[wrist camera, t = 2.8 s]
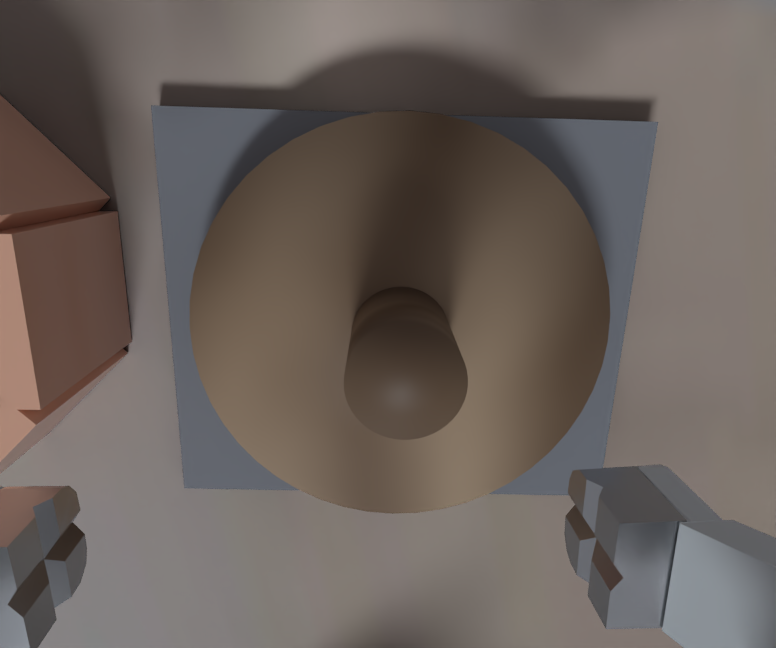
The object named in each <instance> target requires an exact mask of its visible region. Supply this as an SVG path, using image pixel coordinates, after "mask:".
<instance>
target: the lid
mask: <svg viewBox="0 0 776 648" xmlns="http://www.w3.org/2000/svg"><path fill="white" fill-rule="evenodd" d="M609 324H610V296H609V285H608V279H607V274H606V268H605V263H604V259H603V256H602V253H601V251H600V248H599V245H598V242H597V239H596V236H595V234H594V232H593V230H592V228H591V226H590V224H589V222H588V220H587V218H586V216H585V214H584V212H583V210H582V209H581V207H580V206H579V204H578V203H577V202H576V200H575V199H574V197H573V196H572V194H571V193H570V192H569V190H568V189H567V187H566V186H565V185H564V184H563V183H562V182H561V181H560V180H559V179H558V178H557V177H556V176H555V175H554V173H553V172H552V171H551V170H550V169H549V168H548V167H547V166H546V165H544V164H543V163H542V162H541V161H539V160H538V159H537V158H536V157H534V156H533V155H532V154H531V153H529V152H528V151H527V150H526V149H524V148H523V147H521V146H519V145H518V144H516V143H514V142H513V141H511V140H509V139H508V138H506V137H504V136H503V135H501V134H499V133H497V132H495V131H492V130H490V129H487V128H485V127H482V126H480V125H478V124H475V123H473V122H470V121H466V120H462V119H458V118H454V117H451V116H447V115H443V114H436V113H427V112H418V111H386V112H375V113H369V114H363V115H358V116H352V117H348V118H344V119H341V120H338V121H335V122H332V123H329V124H326V125H323V126H320V127H318V128H316V129H314V130H311V131H309V132H307V133H305V134H303V135H301V136H299V137H297V138H295V139H293V140H291V141H290V142H288V143H287V144H285V145H284V146H282V147H281V148H279V149H278V150H276V151H275V152H273V153H272V154H270V155H269V156H268V157H266V158H265V159H264V160H263V161H262V162H261V163H260V164H259V165H258V166H256V167H255V168H254V169H253V170H252V171H251V172H250V173H249V174H247V175H246V176H245V178H244V179H243V180H242V181H241V182H240V184H239V185H238V186H237V187H236V188H235V189H234V191H233V192H232V193H231V194H230V195H229V197H228V198H227V199H226V201H225V203H224V204H223V206H222V207H221V209H220V210H219V212H218V214H217V215H216V217H215V218H214V220H213V222H212V224H211V226H210V228H209V230H208V233H207V235H206V237H205V239H204V242H203V244H202V246H201V249H200V252H199V256H198V259H197V263H196V266H195V270H194V273H193V280H192V287H191V294H190V334H191V341H192V348H193V355H194V358H195V362H196V365H197V369H198V372H199V376H200V379H201V381H202V384H203V386H204V388H205V391H206V393H207V395H208V398H209V400H210V402H211V404H212V406H213V407H214V409H215V411H216V412H217V414H218V416H219V417H220V419H221V421H222V422H223V424H224V425H225V427H226V428H227V429H228V430H229V432H230V433H231V434H232V435H233V437H234V438H235V439H236V441H237V442H238V443H239V444H240V445H241V446H242V447H243V448H244V449H245V450H246V451H247V452H248V453H249V454H250V455H251V456H252V457H253V458H254V459H255V460H256V461H257V462H258V463H260V464H261V465H262V466H263V467H265V468H266V469H267V470H269V471H270V472H271V473H273V474H274V475H275V476H276V477H278V478H280V479H281V480H283V481H285V482H286V483H288V484H290V485H291V486H293V487H295V488H296V489H298V490H301V491H303V492H305V493H307V494H310V495H312V496H314V497H316V498H318V499H321V500H324V501H327V502H330V503H334V504H337V505H340V506H343V507H348V508H353V509H358V510H363V511H369V512H381V513H418V512H425V511H432V510H438V509H444V508H447V507H451V506H455V505H459V504H463V503H466V502H469V501H471V500H474V499H476V498H479V497H482V496H484V495H487V494H489V493H491V492H493V491H495V490H497V489H499V488H501V487H502V486H504V485H506V484H508V483H510V482H512V481H513V480H515V479H516V478H518V477H519V476H520V475H522V474H523V473H525V472H526V471H528V470H529V469H531V468H532V467H533V466H534V465H535V464H537V463H538V462H539V461H540V460H541V459H542V458H543V457H545V456H546V455H547V454H548V453H549V452H550V451H551V450H552V449H553V448H554V447H555V446H556V445H557V443H558V442H559V441H560V440H561V439H562V438H563V437H564V436H565V435H566V433H567V432H568V431H569V429H570V428H571V426H572V425H573V424H574V422H575V421H576V419H577V418H578V416H579V415H580V414H581V412H582V410H583V408H584V406H585V404H586V403H587V401H588V399H589V397H590V395H591V393H592V391H593V389H594V386H595V384H596V381H597V378H598V376H599V373H600V370H601V368H602V364H603V360H604V356H605V351H606V347H607V343H608V335H609Z"/></svg>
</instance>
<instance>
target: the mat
mask: <svg viewBox="0 0 776 648" xmlns="http://www.w3.org/2000/svg"><path fill="white" fill-rule="evenodd" d="M151 110H152V122H153V133H154V145H155V156H156V167H157V179H158V190H159V202H160V213H161V225H162V236H163V248H164V259H165V271H166V282H167V293H168V305H169V316H170V328H171V339H172V351H173V362H174V374H175V385H176V397H177V408H178V419H179V431H180V442H181V454H182V465H183V477H184V488H205V489H258V490H298V489H296V488H295V487H293V486H291V485H290V484H288V483H286V482H285V481H283V480H281V479H280V478H278V477H276V476H275V475H274V474H273V473H271V472H270V471H269V470H267V469H266V468H265V467H263V466H262V465H261V464H260V463H258V462H257V461H256V460H255V459H254V458H253V457H252V456H251V455H250V454H249V453H248V452H247V451H246V450H245V449H244V448H243V447H242V446H241V445H240V444H239V443H238V442H237V441H236V439H235V438H234V437H233V435H232V434H231V433H230V432H229V430H228V429H227V428H226V427H225V425H224V424H223V422H222V421H221V419H220V417H219V416H218V414H217V412H216V411H215V409H214V407H213V406H212V404H211V402H210V400H209V398H208V395H207V393H206V391H205V388H204V386H203V384H202V381H201V379H200V376H199V372H198V369H197V365H196V362H195V358H194V355H193V348H192V341H191V334H190V294H191V287H192V280H193V273H194V270H195V266H196V263H197V259H198V256H199V252H200V249H201V246H202V244H203V242H204V239H205V237H206V235H207V233H208V230H209V228H210V226H211V224H212V222H213V220H214V218H215V217H216V215H217V214H218V212H219V210H220V209H221V207H222V206H223V204H224V203H225V201H226V199H227V198H228V197H229V195H230V194H231V193H232V192H233V191H234V189H235V188H236V187H237V186H238V185H239V184H240V182H241V181H242V180H243V179H244V178H245V176H246V175H247V174H249V173H250V172H251V171H252V170H253V169H254V168H255V167H256V166H258V165H259V164H260V163H261V162H262V161H263V160H264V159H265V158H266V157H268V156H269V155H270V154H272V153H273V152H275V151H276V150H278V149H279V148H281V147H282V146H284V145H285V144H287V143H288V142H290V141H291V140H293V139H295V138H297V137H299V136H301V135H303V134H305V133H307V132H309V131H311V130H314V129H316V128H318V127H320V126H323V125H326V124H329V123H332V122H335V121H338V120H341V119H344V118H348V117H352V116H358V115H363V114H369V113H367V112H336V111H305V110H274V109H243V108H212V107H182V106H151ZM447 116H451V117H454V118H458V119H462V120H466V121H470V122H473V123H475V124H478V125H480V126H482V127H485V128H487V129H490V130H492V131H495V132H497V133H499V134H501V135H503V136H504V137H506V138H508V139H509V140H511V141H513V142H514V143H516V144H518V145H519V146H521V147H523V148H524V149H526V150H527V151H528V152H529V153H531V154H532V155H533V156H534V157H536V158H537V159H538V160H539V161H541V162H542V163H543V164H544V165H546V166H547V167H548V168H549V169H550V170H551V171H552V172H553V173H554V175H555V176H556V177H557V178H558V179H559V180H560V181H561V182H562V183H563V184H564V185H565V186H566V187H567V189H568V190H569V192H570V193H571V194H572V196H573V197H574V199H575V200H576V202H577V203H578V204H579V206H580V207H581V209H582V210H583V212H584V214H585V216H586V218H587V220H588V222H589V224H590V226H591V228H592V230H593V232H594V234H595V236H596V239H597V242H598V245H599V248H600V251H601V253H602V256H603V259H604V263H605V268H606V274H607V279H608V285H609V296H610V324H609V335H608V343H607V347H606V351H605V356H604V360H603V364H602V368H601V370H600V373H599V376H598V378H597V381H596V384H595V386H594V389H593V391H592V393H591V395H590V397H589V399H588V401H587V403H586V404H585V406H584V408H583V410H582V412H581V414H580V415H579V416H578V418H577V419H576V421H575V422H574V424H573V425H572V426H571V428H570V429H569V431H568V432H567V433H566V435H565V436H564V437H563V438H562V439H561V440H560V441H559V442H558V443H557V445H556V446H555V447H554V448H553V449H552V450H551V451H550V452H549V453H548V454H547V455H546V456H545V457H543V458H542V459H541V460H540V461H539V462H538V463H537V464H535V465H534V466H533V467H532V468H531V469H529V470H528V471H526V472H525V473H523V474H522V475H520V476H519V477H518V478H516V479H515V480H513V481H512V482H510V483H508V484H506V485H504V486H502V487H501V488H499V489H497V490H495V491H493V492H491V493H489V494H527V495H569V494H568V487H569V479H570V476H571V473H572V471H573V470H581V469H598V468H603V463H604V457H605V451H606V445H607V438H608V432H609V426H610V420H611V413H612V407H613V401H614V394H615V388H616V382H617V376H618V369H619V363H620V357H621V351H622V344H623V338H624V332H625V326H626V319H627V313H628V307H629V301H630V294H631V288H632V282H633V276H634V269H635V263H636V257H637V251H638V244H639V238H640V232H641V226H642V219H643V213H644V207H645V201H646V194H647V188H648V182H649V176H650V169H651V163H652V157H653V151H654V144H655V138H656V132H657V125H658V122H645V121H614V120H583V119H552V118H521V117H491V116H460V115H447Z"/></svg>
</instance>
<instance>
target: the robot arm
mask: <svg viewBox="0 0 776 648" xmlns="http://www.w3.org/2000/svg"><path fill="white" fill-rule="evenodd" d="M568 494H569V495H570V497H571V499H572V500H573V502H574V503H575V506H574V507H573V508H572V509H571V510H570V512H569V513H568V514H567V515H566V518H565V542H566V549H567V553H568V556H569V559H570V563H571V565H572V567H573V569H574V571H575V573H576V575H578V576H579V577H581V578H582V579H584V580H585V581H587V582H588V583H589V588H588V597H589V599H590V601H591V602H592V604H593V606H594V608H595V610H596V612H597V613H598V615H599V617H600V619H601V621H602V623H603V624H604V626H605V628H606V629H628V628H662V631H663V632H664V633H666V634H667V635H668V636H670V637H671V638H672V639H673V640H675V641H676V642H677V643H679V644H680V645H681V646H682V647H684V648H776V538H774V537H772V536H770V535H767V534H765V533H762V532H760V531H758V530H755V529H753V528H751V527H748V526H746V525H744V524H741V523H739V522H736V521H734V520H722V519H721V518H720V517H719V516H718V515H717V514H716V513H715V512H714V511H713V510H712V509H711V508H710V507H709V506H708V505H707V504H706V503H705V502H704V501H703V500H701V499H700V498H699V497H698V496H697V495H696V494H695V493H694V492H693V491H692V490H691V489H690V488H689V487H688V486H687V485H686V484H685V483H684V482H683V481H682V480H681V479H680V478H679V477H678V476H677V475H675V474H674V473H673V472H672V471H671V470H670V469H669V468H668V467H666V466H663V465H660V464H659V465H646V466H632V467H615V468H598V469H581V470H573V471H572V473H571V476H570V479H569V487H568ZM79 511H80V506H79V502H78V498H77V493H76V491H75V490H73V489H72V488H71V487H70V486H33V487H0V648H38V647H39V645H40V644H41V642H42V641H43V639H44V638H45V636H46V635H47V633H48V632H49V630H50V629H51V627H52V626H53V624H54V623H55V621H56V620H57V619H56V614H55V609H54V608H55V607H57V606H58V605H60V604H61V603H63V602H64V601H66V600H67V599H69V598H70V597H72V595H73V594H74V592H75V590H76V589H77V587H78V586H79V584H80V582H81V579H82V576H83V573H84V569H85V566H86V558H87V546H86V539H85V534H84V533H83V532H82V531H81V530H80V529H79V528H78V527H77V526H76V525H75V524H74V523H73V521H74V519H75V518H76V516H77V515H78V513H79Z"/></svg>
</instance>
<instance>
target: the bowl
mask: <svg viewBox="0 0 776 648" xmlns="http://www.w3.org/2000/svg"><path fill="white" fill-rule="evenodd" d="M109 199H110V197H109V196H108V195H107V194H106V193H105V192H104V191H103V190H102V189H101V188H100V187H99V186H97V185H96V184H95V183H94V182H93V181H92V180H91V179H90V178H89V177H88V176H87V175H86V174H85V173H84V172H83V171H81V170H80V169H79V168H78V167H77V166H76V165H75V164H74V163H73V162H72V161H71V160H70V159H69V158H68V157H66V156H65V155H64V154H63V153H62V152H61V151H60V150H59V149H58V148H57V147H56V146H55V145H54V144H53V143H52V142H50V141H49V140H48V139H47V138H46V137H45V136H44V135H43V134H42V133H41V132H40V131H39V130H38V129H37V128H35V127H34V126H33V125H32V124H31V123H30V122H29V121H28V120H27V119H26V118H25V117H24V116H23V115H22V114H21V113H19V112H18V111H17V110H16V109H15V108H14V107H13V106H12V105H11V104H10V103H9V102H8V101H7V100H6V99H4V98H3V97H2V96H1V95H0V474H1V473H2V472H3V471H4V470H6V469H7V468H8V467H9V466H10V465H12V464H13V463H14V462H15V461H16V460H17V459H19V458H20V457H21V456H22V455H23V454H25V453H26V452H27V451H28V450H29V449H31V448H32V447H33V446H34V445H35V444H37V443H38V442H39V441H40V440H41V439H43V438H44V437H45V436H46V435H47V434H48V433H50V432H51V431H52V430H53V429H54V428H55V427H56V426H57V425H58V424H59V423H60V422H61V421H62V420H63V418H64V417H65V416H66V415H67V414H68V413H69V412H70V411H71V410H72V409H73V408H74V407H75V406H76V405H77V404H78V403H79V402H80V401H81V400H82V399H83V398H84V397H85V396H86V395H87V394H88V393H89V392H90V391H91V390H92V389H93V388H94V387H95V386H96V385H97V384H98V383H99V382H100V381H101V380H102V379H103V378H104V377H105V376H106V375H107V374H108V373H109V372H110V371H111V370H112V369H113V368H114V367H115V366H116V365H117V364H118V363H119V362H120V361H121V360H122V359H123V358H124V357H125V355H126V354H127V352H126V351H125V350H124V349H123V348H124V347H125V346H127V345H128V344H129V343H131V342H132V339H131V330H130V321H129V312H128V302H127V293H126V284H125V275H124V266H123V257H122V247H121V238H120V229H119V220H118V211H99V210H100V209H101V208H102V207H103V206H104V205H105V204H106V202H107V201H108V200H109Z"/></svg>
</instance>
